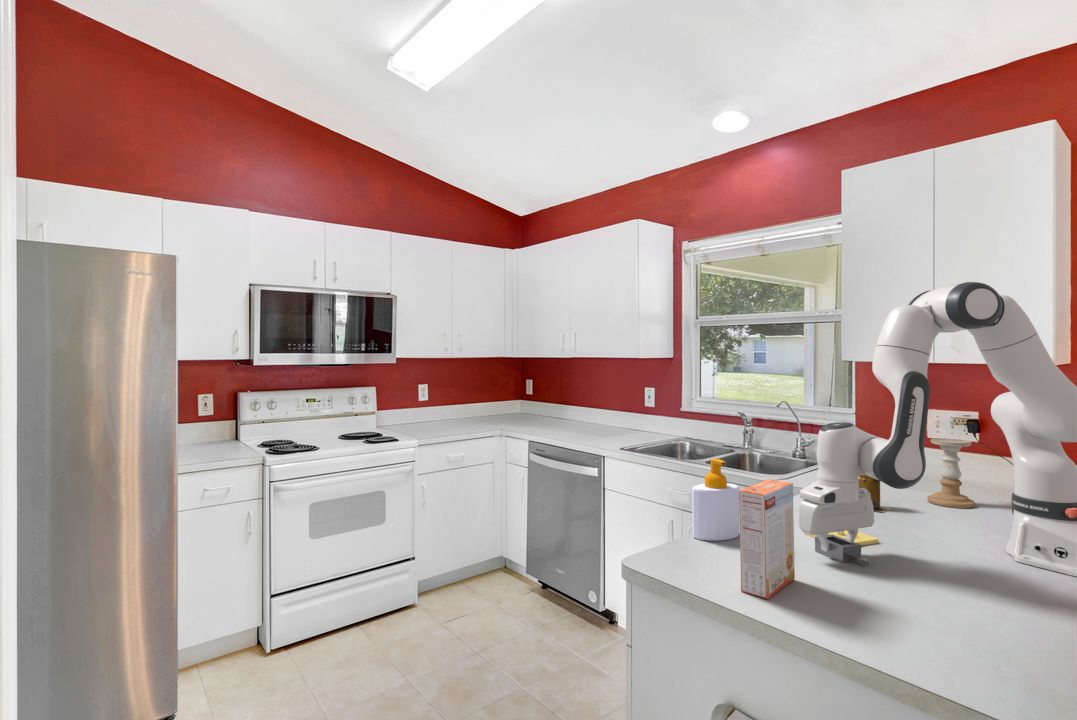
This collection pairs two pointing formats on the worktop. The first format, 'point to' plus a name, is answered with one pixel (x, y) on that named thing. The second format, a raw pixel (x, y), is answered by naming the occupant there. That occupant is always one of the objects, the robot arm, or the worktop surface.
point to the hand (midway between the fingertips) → (837, 548)
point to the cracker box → (766, 537)
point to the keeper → (859, 538)
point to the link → (842, 550)
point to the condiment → (872, 491)
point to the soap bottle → (715, 507)
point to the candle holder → (950, 476)
